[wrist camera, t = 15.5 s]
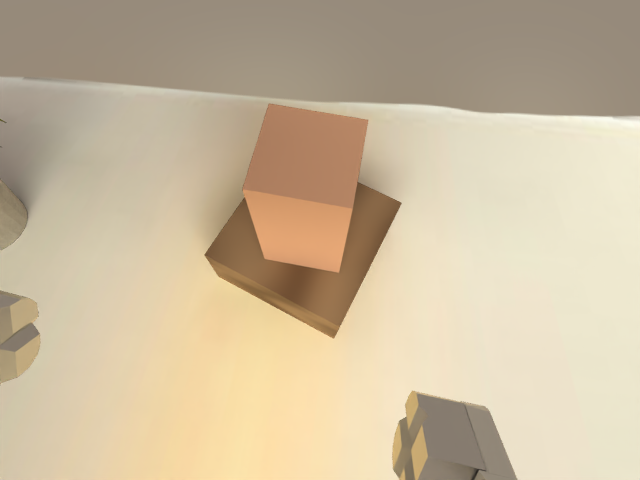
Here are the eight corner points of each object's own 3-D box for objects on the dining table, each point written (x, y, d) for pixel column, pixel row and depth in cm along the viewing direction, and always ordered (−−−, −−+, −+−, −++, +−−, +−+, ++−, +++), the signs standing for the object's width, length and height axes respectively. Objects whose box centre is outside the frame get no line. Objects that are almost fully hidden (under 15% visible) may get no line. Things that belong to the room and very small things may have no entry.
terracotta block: (264, 259, 25) (242, 189, 17) (281, 194, 27) (268, 103, 19) (339, 272, 25) (352, 208, 17) (350, 206, 27) (368, 119, 19)
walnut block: (219, 277, 30) (204, 254, 25) (283, 181, 34) (280, 146, 29) (333, 339, 29) (339, 326, 24) (387, 231, 32) (401, 202, 28)
